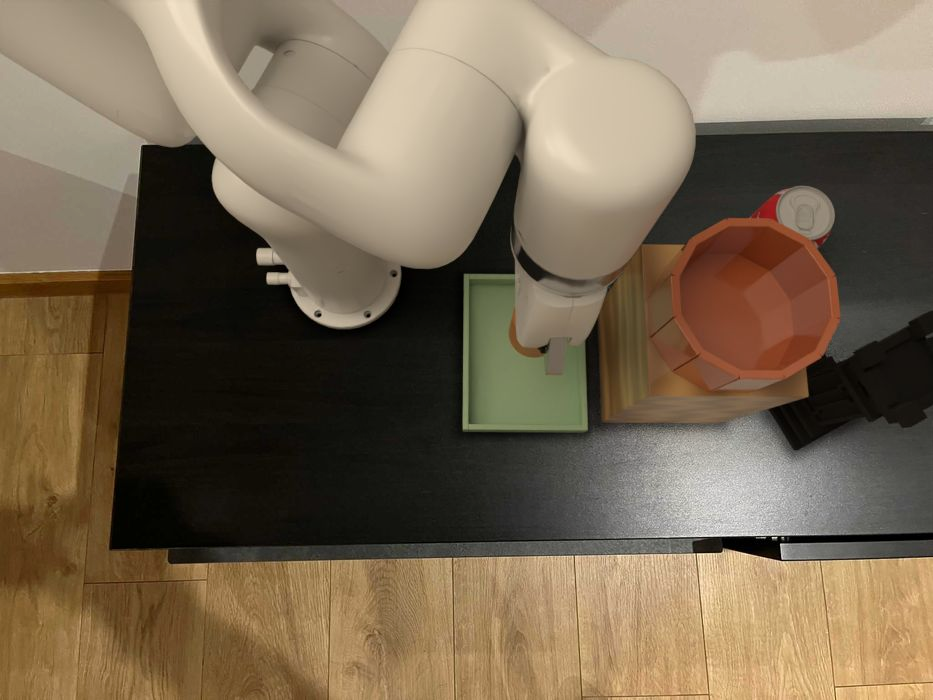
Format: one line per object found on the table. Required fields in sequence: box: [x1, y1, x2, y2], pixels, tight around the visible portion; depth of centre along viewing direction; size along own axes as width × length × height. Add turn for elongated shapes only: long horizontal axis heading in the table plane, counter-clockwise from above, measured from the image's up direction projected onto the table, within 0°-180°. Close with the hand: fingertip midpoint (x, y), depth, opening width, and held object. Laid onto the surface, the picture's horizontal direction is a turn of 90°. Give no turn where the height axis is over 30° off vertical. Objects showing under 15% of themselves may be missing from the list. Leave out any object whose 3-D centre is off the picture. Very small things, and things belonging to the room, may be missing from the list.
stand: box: [597, 243, 809, 424], centre depth 67 cm, size 13×13×20 cm
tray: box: [462, 273, 589, 434], centre depth 76 cm, size 13×17×2 cm
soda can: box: [748, 185, 836, 249], centre depth 74 cm, size 7×7×12 cm
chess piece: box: [768, 309, 933, 452], centre depth 66 cm, size 8×8×20 cm
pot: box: [648, 217, 842, 393], centre depth 54 cm, size 12×12×6 cm
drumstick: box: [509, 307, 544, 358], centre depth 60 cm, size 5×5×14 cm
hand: (542, 311), depth 59 cm, fingers closed on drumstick, 3 cm apart
